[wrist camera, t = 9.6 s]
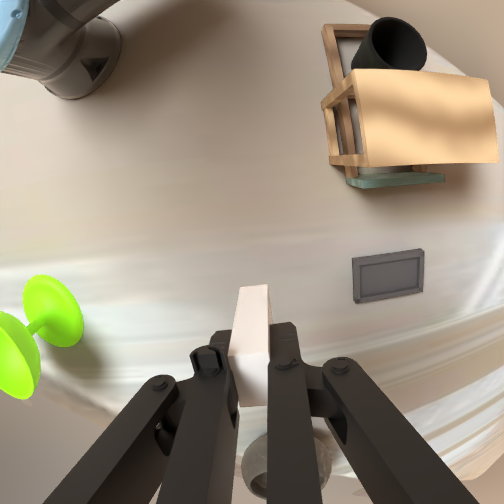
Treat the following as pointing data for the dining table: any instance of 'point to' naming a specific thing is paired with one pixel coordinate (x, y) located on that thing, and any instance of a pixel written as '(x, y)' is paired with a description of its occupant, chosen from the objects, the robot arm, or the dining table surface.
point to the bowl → (257, 465)
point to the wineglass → (41, 322)
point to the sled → (345, 123)
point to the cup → (391, 47)
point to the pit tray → (387, 275)
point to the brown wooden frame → (415, 118)
